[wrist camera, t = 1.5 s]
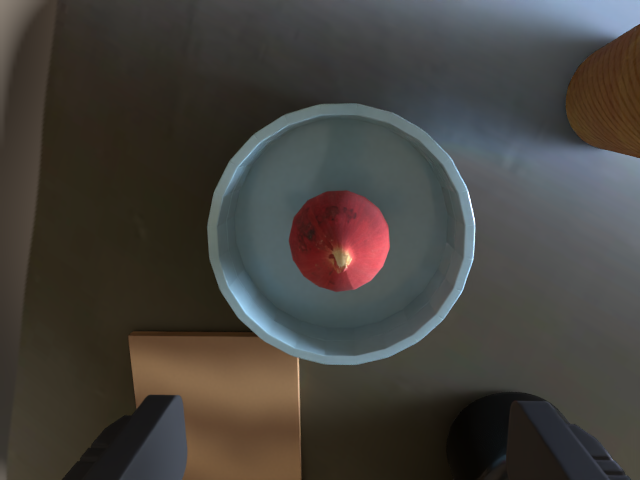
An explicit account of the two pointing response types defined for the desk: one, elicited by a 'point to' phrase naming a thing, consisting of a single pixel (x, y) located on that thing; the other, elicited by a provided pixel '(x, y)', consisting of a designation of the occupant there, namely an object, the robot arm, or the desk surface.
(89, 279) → the desk surface
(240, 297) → the light blue bowl
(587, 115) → the disposable coffee cup
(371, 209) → the onion
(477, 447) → the ink bottle
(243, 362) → the plate
